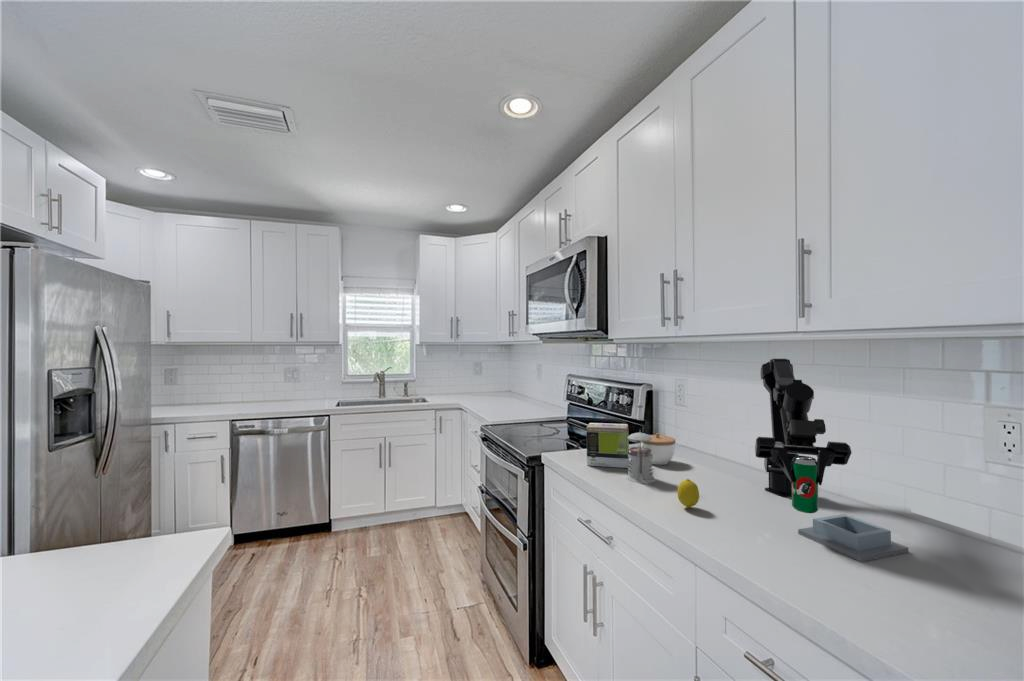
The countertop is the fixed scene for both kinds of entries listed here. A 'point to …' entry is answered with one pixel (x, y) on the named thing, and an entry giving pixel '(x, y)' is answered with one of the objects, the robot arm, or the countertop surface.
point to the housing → (853, 537)
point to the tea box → (607, 445)
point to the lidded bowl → (660, 448)
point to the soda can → (805, 484)
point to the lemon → (688, 493)
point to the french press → (640, 459)
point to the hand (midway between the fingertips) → (806, 482)
